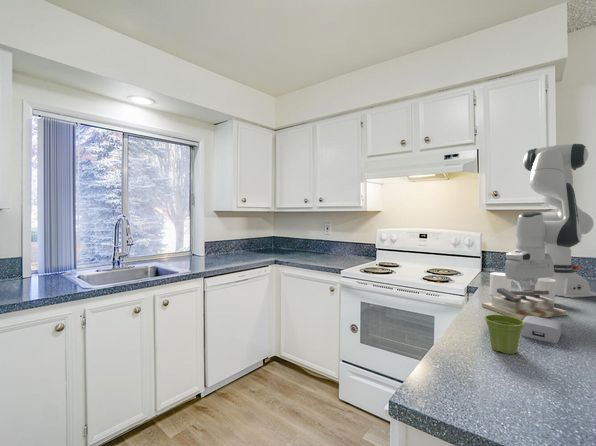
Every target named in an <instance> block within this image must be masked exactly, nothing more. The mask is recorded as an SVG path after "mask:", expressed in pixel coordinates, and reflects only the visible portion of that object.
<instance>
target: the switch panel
mask: <svg viewBox="0 0 596 446" xmlns="http://www.w3.org/2000/svg"><path fill="white" fill-rule="evenodd" d="M517 296H519V297H521V301H520V302H513V301H512V300H510V299H508V298H507V297H505V296H491V301H490V302H482V303H481V307H482V308H485V309H487V310H490V311H493V312H496V313H498V314H500V315H505V316H510V317H514V318H517V319H520V320H522V321H523V320H524V318H525V317H526V316H534V317H540V318H549V317H551V318H553V317H558V316H559V317H561V316H567V314H568V313H567V310H564V309H561V308H557V307H555V298H554V299H550V298H546V297H542V296H540V295H535V296H521V295H517Z"/></svg>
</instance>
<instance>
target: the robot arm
mask: <svg viewBox="0 0 596 446" xmlns="http://www.w3.org/2000/svg"><path fill="white" fill-rule="evenodd" d="M588 158H589V152H588V149H587V147H586V146H585V145H584V144H582V143H573V144H555V145H550V146H545V147H544V146H543V147H540V148H532V149H528V150H527V151H526V152H525V153H524V156H523V161H522V162H523V166H524V169H526V170H527V171H529V172H530V176H529V186H530V188H531V189H532V190H533V191H534V192H536V193H537V194H539V195H541V199H542V201H543V202H544V203H545V204H547V205H549V206H553V207H555V208H557V209H558V211H554V212H553V211H549V212H548V211H546V212H545V211H544V212H538V211H537V212H536V211H528V212H527V211H526V212H522V213H520V214H519V215H518V217H517V222H516V223H517V224H516V238H517V241H516V248H514V249H513V250H510V251H508V252H507V253H505V259H506V261H505V265H504V273H505V275H506V277H507V278H508V279H512V280H516V281H517V280H521V281H522V283H523V284H524V290H535V285H536V283H537V282H538V278H548V279H553V280H556V288H555V296H560V297H566V298H586V297H596V292H595V291H591V287H590V282H589V281H588V280H587V279H586V278H584V277H582V276H581V275H580V274H578V273H576V271H580V270H581V266H580V265H573V264H572V249H571V248H572V247H574V246H576V245H578V244H579V243H580V242H581V240H582V237H583V235H587V234H589V233H590V232H591V231H592V229H594V225H595V224H594V223H595V222H594V219H593V218H592V216H591V215H589V213H587V212H585V211H583V210H582V209H581V208H580V207H579V206H578V205H577V200H576V195H575V194H576V193H575V190H574V187H573V186H574V184H573V183H574V178H573V177H574V176H573V175H574V174H573V171H576V170H577V169H579V168H583V166H584V165H585V164H586V162H587V160H588Z"/></svg>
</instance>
